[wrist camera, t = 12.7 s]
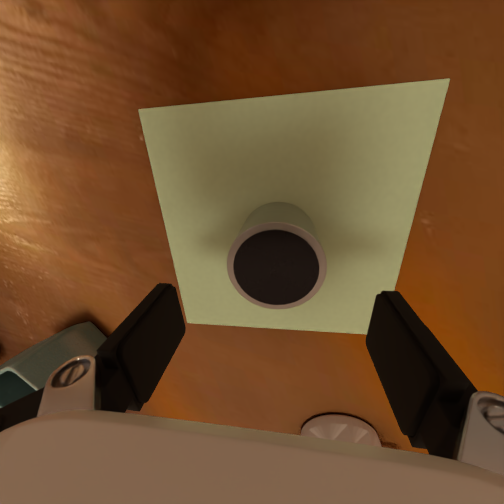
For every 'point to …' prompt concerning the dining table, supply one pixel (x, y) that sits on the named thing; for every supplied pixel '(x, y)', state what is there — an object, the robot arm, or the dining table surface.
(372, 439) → the mug
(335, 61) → the dining table surface
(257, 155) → the trivet mat
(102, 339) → the flower pot
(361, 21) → the dining table surface
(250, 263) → the steel pot
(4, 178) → the dining table surface
